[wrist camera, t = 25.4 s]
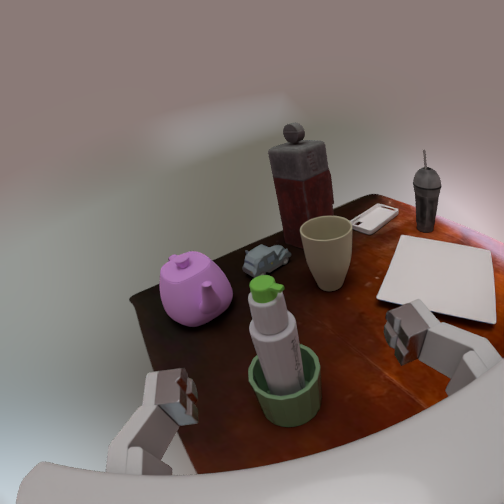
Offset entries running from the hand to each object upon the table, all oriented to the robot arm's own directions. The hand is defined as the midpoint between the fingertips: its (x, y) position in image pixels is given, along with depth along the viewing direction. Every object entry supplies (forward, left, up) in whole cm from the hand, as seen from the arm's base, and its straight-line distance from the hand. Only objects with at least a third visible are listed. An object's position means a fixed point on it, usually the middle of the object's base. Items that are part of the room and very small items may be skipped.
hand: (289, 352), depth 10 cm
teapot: (+35, -14, -26) cm, 46 cm away
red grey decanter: (+30, -46, -26) cm, 61 cm away
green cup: (+9, -8, -26) cm, 28 cm away
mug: (+18, -33, -26) cm, 46 cm away
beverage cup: (+5, -61, -26) cm, 66 cm away
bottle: (+9, -8, -25) cm, 28 cm away
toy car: (+33, -31, -26) cm, 52 cm away
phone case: (+19, -60, -26) cm, 68 cm away
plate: (-3, -42, -26) cm, 49 cm away
